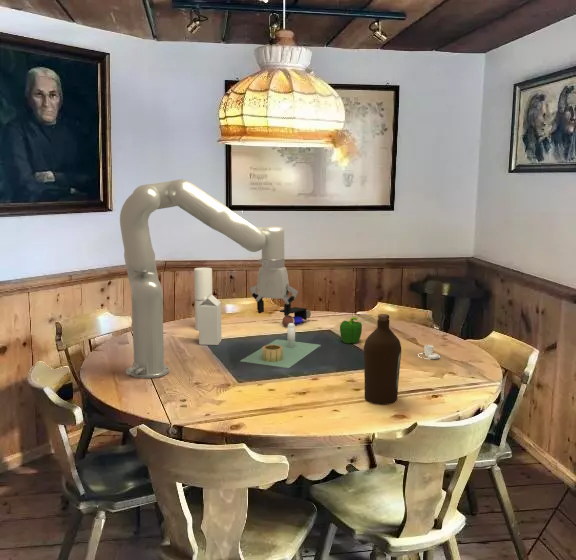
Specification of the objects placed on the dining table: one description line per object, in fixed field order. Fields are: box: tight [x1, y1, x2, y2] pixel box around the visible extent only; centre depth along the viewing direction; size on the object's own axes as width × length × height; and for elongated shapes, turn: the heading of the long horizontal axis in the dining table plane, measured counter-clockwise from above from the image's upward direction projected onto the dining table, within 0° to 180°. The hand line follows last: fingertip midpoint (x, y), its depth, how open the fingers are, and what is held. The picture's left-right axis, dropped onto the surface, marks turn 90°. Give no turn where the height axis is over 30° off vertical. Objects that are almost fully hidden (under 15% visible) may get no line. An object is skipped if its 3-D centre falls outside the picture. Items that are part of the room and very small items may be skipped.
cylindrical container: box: [193, 267, 213, 332], centre depth 261 cm, size 7×7×25 cm
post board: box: [240, 323, 322, 369], centre depth 225 cm, size 30×18×10 cm, turn 157°
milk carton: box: [198, 291, 222, 346], centre depth 241 cm, size 7×7×19 cm
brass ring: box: [261, 344, 283, 362], centre depth 218 cm, size 7×7×4 cm
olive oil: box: [363, 313, 402, 405], centre depth 183 cm, size 11×11×25 cm
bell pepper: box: [339, 316, 363, 344], centre depth 244 cm, size 8×8×10 cm
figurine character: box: [279, 306, 312, 328], centre depth 271 cm, size 7×8×15 cm
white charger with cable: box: [417, 344, 441, 360], centre depth 227 cm, size 9×8×4 cm
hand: (273, 313), depth 215 cm, fingers open, 9 cm apart
